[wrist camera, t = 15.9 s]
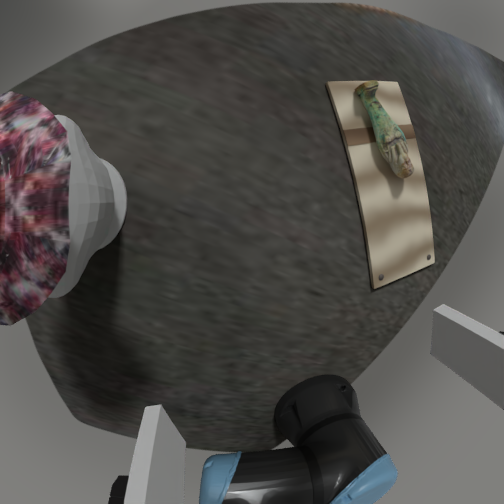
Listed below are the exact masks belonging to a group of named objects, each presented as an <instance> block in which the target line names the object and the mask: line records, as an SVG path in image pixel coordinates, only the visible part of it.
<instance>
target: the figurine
mask: <svg viewBox="0 0 504 504" xmlns="http://www.w3.org/2000/svg"><path fill="white" fill-rule="evenodd" d="M378 85H379V83H378V82H377V81H376V80H373V81H367V82H364V83H362V84H360V85H359V86H358V87H356V88H355V89H354V90H355V92H356V95H358V96H359V97H360V99H361V100H362V103H363V105H364V107H365V109H366V110H367V112H368V114H369V116H370V119H371V122H372V126H373V130H374V134H375V138H376V143H377V146H378V148H379V150H380V152H381V154H382V156H383V157H384V159H385V160H386V161H387V162H389V164H390V166H391V168H392V170H393V172H394V173H395V175H396V176H398V177H399V178H407V177H409V176H411V175H412V174H413V172H414V166H413V164H412V163H411V160H410V158H409V157H408V154H407V153H408V144H407V140H406V138H405V136H404V134H403V132H402V131H401V129H400V128H399V127H398V126H397V124H396V123H395V122H394V121H393V120H392V118H391V117H390V116H389V115H388V113H387V112H386V111H385V110H384V108H383V107H382V105H381V104H380V102H379V101H378V99H377V98H376V96H375V93H376V90H377V89H378Z"/></svg>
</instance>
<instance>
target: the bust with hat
mask: <svg viewBox="0 0 504 504" xmlns="http://www.w3.org/2000/svg"><path fill="white" fill-rule="evenodd" d="M126 212H127V192H126V188H125V184H124V181H123V179H122V177H121V176H120V174H119V172H118V171H117V170H116V169H115V167H114V166H112V165H111V164H110V163H108V162H107V161H105V160H102V159H100V158H98V157H97V155H96V154H95V153H94V152H93V151H92V150H91V149H90V147H89V145H88V143H87V141H86V139H85V137H84V136H83V134H82V132H81V130H80V128H79V127H78V126H77V125H76V124H75V123H74V122H73V121H72V120H71V119H69V118H67V117H66V116H61V115H54V114H53V113H51V112H50V111H49V110H48V109H47V108H45V107H44V106H43V105H42V104H41V103H40V102H38V101H37V100H36V99H34V98H30V97H27V96H24V95H21V94H18V93H14V92H7V93H4V94H0V325H13V324H14V323H16V322H18V321H20V320H21V319H23V318H25V317H27V316H29V315H30V314H32V313H34V312H35V311H36V310H37V309H38V308H39V307H40V305H41V304H42V303H43V302H44V301H45V300H46V299H47V298H48V297H51V298H56V297H61V296H64V295H65V294H67V293H68V292H70V291H71V290H72V288H73V287H74V286H75V285H76V284H77V283H78V281H79V279H80V277H81V275H82V273H83V271H84V269H85V268H86V265H87V263H88V261H89V259H90V258H91V256H92V255H93V254H94V253H95V252H96V251H97V250H99V249H101V248H103V247H105V246H106V245H108V244H109V243H110V242H111V241H112V240H113V239H114V238H115V237H116V236H117V234H118V233H119V231H120V229H121V228H122V225H123V223H124V220H125V216H126Z"/></svg>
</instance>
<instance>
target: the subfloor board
mask: <svg viewBox="0 0 504 504" xmlns="http://www.w3.org/2000/svg"><path fill="white" fill-rule="evenodd" d="M364 82H367V81H336V82H327V83H326V87H327V90H328V93H329V96H330V99H331V102H332V105H333V108H334V111H335V114H336V117H337V120H338V124H339V127H340V130H341V134H342V137H343V141H344V144H345V148H346V152H347V156H348V159H349V163H350V167H351V171H352V176H353V180H354V184H355V189H356V193H357V198H358V203H359V208H360V213H361V218H362V224H363V229H364V235H365V241H366V248H367V254H368V261H369V269H370V277H371V286H372V288H373V289H376V288H378V287H380V286H383V285H385V284H388V283H390V282H392V281H395V280H397V279H399V278H402V277H404V276H406V275H409V274H411V273H413V272H415V271H418V270H420V269H422V268H424V267H426V266H429V265H431V264H433V263H435V261H434V245H433V234H432V224H431V216H430V208H429V201H428V195H427V189H426V183H425V178H424V173H423V168H422V163H421V159H420V154H419V150H418V146H417V142H416V137H415V133H414V130H413V126H412V124H411V121H410V117H409V114H408V111H407V108H406V105H405V102H404V99H403V96H402V93H401V91H400V88H399V85H398V82H385V81H377V82H378V83H379V85H378V89H377V90H376V93H375V96H376V98H377V99H378V101H379V102H380V104H381V105H382V107H383V108H384V110H385V111H386V112H387V113H388V115H389V116H390V117H391V118H392V120H393V121H394V122H395V123H396V124H397V126H398V127H399V128H400V129H401V131H402V132H403V134H404V136H405V138H406V140H407V144H408V153H407V154H408V157H409V158H410V160H411V163H412V164H413V166H414V172H413V174H412V175H411V176H409V177H407V178H399V177H398V176H396V175H395V173H394V172H393V170H392V168H391V166H390V164H389V162H387V161H386V160H385V159H384V157H383V156H382V154H381V152H380V150H379V148H378V146H377V143H376V138H375V134H374V130H373V126H372V122H371V119H370V116H369V114H368V112H367V110H366V109H365V107H364V105H363V103H362V100H361V99H360V97H359V96H358V95H356V92H355V90H354V89H355V88H356V87H358V86H359V85H360V84H362V83H364Z"/></svg>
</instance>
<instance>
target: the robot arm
mask: <svg viewBox="0 0 504 504" xmlns="http://www.w3.org/2000/svg"><path fill="white" fill-rule="evenodd" d="M430 354H431V355H432V356H434V357H435V358H436V359H438V360H439V361H440V362H442V363H443V364H445V365H446V366H447V367H448V368H450V369H451V370H452V371H454V372H455V373H456V374H458V375H459V376H460V377H462V378H463V379H464V380H466V381H467V382H468V383H470V384H471V385H472V386H474V387H475V388H476V389H477V390H479V391H480V392H481V393H483V394H484V395H485V396H486V397H488V398H489V399H490V400H492V401H493V402H494V403H495V404H497V405H498V406H499V407H500V408H502V409H503V410H504V332H501V331H500V332H497V331H495V330H492V329H491V328H489V327H487V326H485V325H483V324H481V323H479V322H477V321H476V320H473V319H472V318H470V317H467V316H466V315H464V314H462V313H460V312H458V311H456V310H454V309H452V308H450V307H448V306H446V305H444V304H443V305H441V306H439V307H437V308H436V309H434V310H433V327H432V341H431V352H430ZM275 420H276V423H277V426H278V428H279V430H280V432H281V433H282V434H283V435H284V436H285V437H286V438H287V439H288V440H289V441H290V442H291V443H292V444H293V445H294V447H292V448H291V447H290V448H284V449H276V450H267V451H257V452H244V453H241V451H238V452H237V453H230V454H216V455H212V456H210V457H209V458H208V459H207V460H206V461H205V463H204V467H203V471H202V478H201V486H200V496H199V504H373V503H374V502H376V501H377V500H378V499H380V498H381V497H382V496H383V495H384V494H385V493H387V491H388V490H389V489H390V488H391V487H392V486H393V485H394V483H395V481H396V479H397V474H398V473H397V469H396V467H395V465H394V464H393V462H392V460H391V458H390V455H389V454H387V453H386V451H385V450H384V448H383V447H382V446H381V444H380V443H379V442H378V440H377V439H376V437H375V436H374V434H373V433H372V432H371V430H370V429H369V427H368V426H367V425H366V423H365V422H364V420H363V419H362V418H361V415H360V410H359V405H358V400H357V395H356V392H355V390H354V389H353V387H352V386H351V385H350V383H349V382H348V381H347V380H346V379H344V378H342V377H340V376H336V375H321V376H316V377H313V378H310V379H307V380H305V381H303V382H301V383H299V384H297V385H295V386H294V387H292V388H291V389H290V390H289V391H288V392H286V393H285V394H284V395H283V397H282V398H281V399H280V401H279V402H278V404H277V406H276V409H275ZM185 453H186V442H185V440H184V439H183V438H182V436H181V435H180V433H179V432H178V430H177V429H176V427H175V426H174V424H173V423H172V421H171V420H170V418H169V417H168V415H167V413H166V412H165V410H164V409H163V407H162V405H155V406H148V407H145V411H144V414H143V418H142V422H141V426H140V430H139V434H138V438H137V443H136V447H135V451H134V456H133V460H132V465H131V469H130V474H129V476H118V478H117V479H116V481H115V482H114V483H113V485H112V489H111V493H110V496H111V497H110V498H109V502H108V504H184V479H185Z"/></svg>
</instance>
